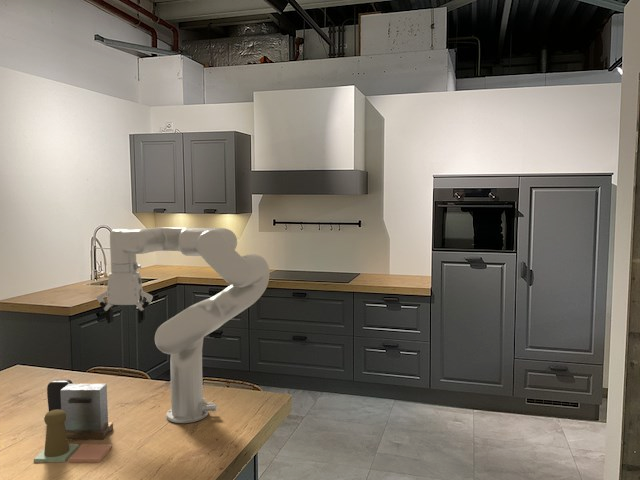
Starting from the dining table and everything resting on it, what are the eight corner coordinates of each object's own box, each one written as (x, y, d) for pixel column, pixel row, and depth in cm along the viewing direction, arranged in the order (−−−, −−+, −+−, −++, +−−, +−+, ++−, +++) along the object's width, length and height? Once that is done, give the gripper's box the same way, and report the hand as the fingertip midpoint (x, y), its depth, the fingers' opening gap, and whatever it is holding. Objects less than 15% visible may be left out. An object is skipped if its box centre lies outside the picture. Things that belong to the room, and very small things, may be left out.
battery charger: (75, 413, 170) (74, 377, 169) (70, 418, 166) (69, 382, 165) (53, 413, 170) (51, 378, 169) (47, 418, 166) (45, 382, 165)
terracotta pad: (111, 447, 147) (111, 444, 147) (99, 461, 139) (99, 458, 139) (82, 447, 147) (82, 444, 147) (68, 461, 139) (68, 458, 139)
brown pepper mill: (40, 451, 143) (38, 411, 142) (64, 444, 147) (62, 404, 146) (48, 459, 139) (46, 418, 138) (73, 451, 143) (71, 411, 142)
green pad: (78, 447, 147) (78, 444, 147) (64, 461, 139) (64, 458, 139) (49, 447, 147) (49, 444, 147) (33, 462, 139) (33, 459, 139)
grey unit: (113, 428, 158) (111, 382, 157) (103, 439, 151) (101, 391, 150) (68, 429, 158) (66, 382, 157) (57, 439, 151) (55, 391, 150)
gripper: (155, 266, 173) (156, 319, 174) (101, 267, 173) (103, 319, 174) (147, 270, 165) (149, 325, 167) (91, 270, 165) (93, 325, 167)
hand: (125, 322), depth 170 cm, fingers open, 9 cm apart
